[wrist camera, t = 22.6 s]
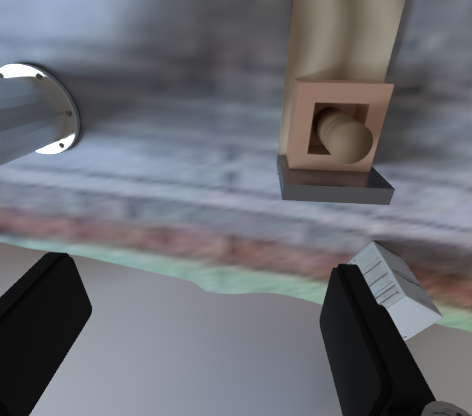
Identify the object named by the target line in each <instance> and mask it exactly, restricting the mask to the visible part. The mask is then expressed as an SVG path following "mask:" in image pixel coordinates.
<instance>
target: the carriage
mask: <svg viewBox="0 0 472 416" xmlns="http://www.w3.org/2000/svg"><path fill="white" fill-rule="evenodd" d="M393 88H394V84H392V83H387V82H382V81H377V80H320V79H294V86H293V95H292V104H291V113H290V123H289V132H288V141H287V150H286V159H287V163H288V167H289V169H306V170H331V171H357V172H370V169H371V165H372V162H373V158H374V155H375V151H376V148H377V144H378V141H379V137H380V134H381V130H382V126H383V123H384V119H385V116H386V112H387V109H388V105H389V102H390V98H391V95H392V91H393ZM326 107H336V108H338V109H340V110H341V111H343V112H344V113H346V114H347V115H349V116H350V117H352V118H353V119H355V120H357V121H358V122H360V123H361V124H363V125H364V126H366V127H367V128H368V129H369V130H370V131H371V133H372V135H373V145H372V148H371V150H370V152H369V153H368V155H367V156H366V157H365V158H364V159H362V160H361V161H359V162H357V163H353V164H342V163H339V162H337V161H336V160H335V159H334V158H333V157H332V155H331V154H330V153H329V151H328V150H327V148H326V147H325V146H324V144H323V143H322V142H321V140H320V139H319V138H318V136H317V135H316V133H315V132H314V130H313V120H314V117H315V116H316V114H317V113H318V112H319V111H320V110H322V109H324V108H326Z"/></svg>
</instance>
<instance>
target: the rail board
mask: <svg viewBox="0 0 472 416" xmlns="http://www.w3.org/2000/svg"><path fill="white" fill-rule="evenodd" d="M404 4H405V0H292V9H291V20H290V30H289V41H288V52H287V63H286V74H285V84H284V95H283V106H282V117H281V127H280V138H279V149H278V154H279V155H282V156H286V150H287V141H288V132H289V123H290V113H291V104H292V95H293V86H294V79H320V80H377V81H382V82H384V80H385V76H386V72H387V69H388V65H389V61H390V57H391V53H392V50H393V46H394V42H395V38H396V34H397V31H398V27H399V23H400V19H401V15H402V12H403V8H404ZM278 159H279V157H278ZM277 175H278V168H277Z"/></svg>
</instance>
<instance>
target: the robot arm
mask: <svg viewBox="0 0 472 416" xmlns="http://www.w3.org/2000/svg"><path fill="white" fill-rule="evenodd" d="M79 130H80V119H79V114H78V110H77V108H76V105H75V103H74V101H73V99H72V97H71V96H70V94H69V93H68V91H67V90H66V89H65V87H64V86H63V85H62V84H61V83H60V82H59V81H58V80H57V79H56V78H55V77H53V76H52V75H51V74H49V73H48V72H46V71H44V70H43V69H41V68H39V67H36V66H33V65H30V64H23V63H12V64H8V65H4V66H2V67H1V68H0V166H1V165H3V164H5V163H8V162H10V161H12V160H15V159H17V158H20V157H22V156H24V155H27V154H29V153H32V152H34V151H35V152H39V153H43V154H57V153H60V152H63V151H65V150H67V149H69V148H70V147H71V146H72V145H73V144H74V143H75V141H76V140H77V138H78V135H79ZM91 313H92V306H91V303H90V300H89V298H88V295H87V293H86V290H85V288H84V285H83V283H82V280H81V278H80V275H79V272H78V270H77V267H76V265H75V262H74V260H73V258H72V257H70V256H69V254H67V253H58V252H49V253H47V254H45V255H44V256H43V257H42V258H41V259H40V260H39V261H38V262H37V263H36V264H35V265H33V266H32V267H31V268H30V269H29V270H28V271H27V272H26V273H25V274H24V275H23V276H22V277H21V278H20V279H19V280H18V281H17V282H16V283H15V284H14V285H13V286H12V287H11V288H10V289H9V290H8V291H6V292H5V294H3V295H2V296H1V297H0V416H29V414H30V413H31V412H32V410H33V408H34V407H35V405H36V403H37V402H38V400H39V399H40V397H41V395H42V394H43V392H44V391H45V389H46V387H47V386H48V384H49V382H50V381H51V379H52V378H53V376H54V374H55V373H56V371H57V369H58V368H59V366H60V364H61V363H62V361H63V360H64V358H65V356H66V355H67V353H68V352H69V350H70V348H71V347H72V345H73V343H74V342H75V340H76V339H77V337H78V335H79V334H80V332H81V331H82V329H83V327H84V326H85V324H86V322H87V321H88V319H89V317H90V315H91ZM320 328H321V332H322V336H323V340H324V344H325V348H326V352H327V356H328V359H329V363H330V367H331V371H332V375H333V379H334V383H335V387H336V390H337V394H338V398H339V402H340V406H341V410H342V414H343V416H471V415H470V414H469V413H467V412H466V411H465V410H463V409H461V408H459V407H457V406H455V405H453V404H451V403H447V402H444V401H436V399H435V397H434V395H433V394H432V392H431V390H430V388H429V387H428V384H427V383H426V381H425V379H424V377H423V375H422V373H421V371H420V370H419V368H418V366H417V364H416V362H415V360H414V358H413V357H412V355H411V353H410V351H409V349H408V347H407V346H406V344H405V342H404V340H403V338H402V336H401V334H400V332H399V331H398V329H397V327H396V325H395V323H394V321H393V320H392V318H391V316H390V314H389V312H388V311H387V309H386V308H385V307H384V306H383V305H380V304H378V303H377V301H376V299H375V297H374V295H373V293H372V292H371V290H370V288H369V286H368V284H367V282H366V280H365V278H364V276H363V274H362V272H361V270H360V268H359V267H358V265H356V264H339V265H338V267H337V268H333V269H332V272H331V276H330V280H329V284H328V288H327V292H326V296H325V299H324V303H323V307H322V311H321V315H320Z"/></svg>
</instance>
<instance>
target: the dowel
mask: <svg viewBox="0 0 472 416" xmlns="http://www.w3.org/2000/svg"><path fill="white" fill-rule="evenodd" d="M313 130H314V132H315V133H316V135H317V136H318V138H319V139H320V140H321V142H322V143H323V144H324V146H325V147H326V148H327V150H328V151H329V153H330V154H331V155H332V157H333V158H334V159H335V160H336V161H337V162H339V163H342V164H353V163H357V162H359V161H361V160H362V159H364V158H365V157H366V156H367V155H368V153H369V152H370V150H371V148H372V145H373V135H372V133H371V131H370V130H369V129H368V128H367V127H366V126H364V125H363V124H361V123H360V122H358V121H357V120H355V119H353V118H352V117H350V116H349V115H347V114H346V113H344V112H343V111H341V110H340V109H338V108H336V107H326V108H324V109H322V110H320V111H319V112H318V113H317V114H316V116H315V117H314V120H313Z"/></svg>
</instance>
